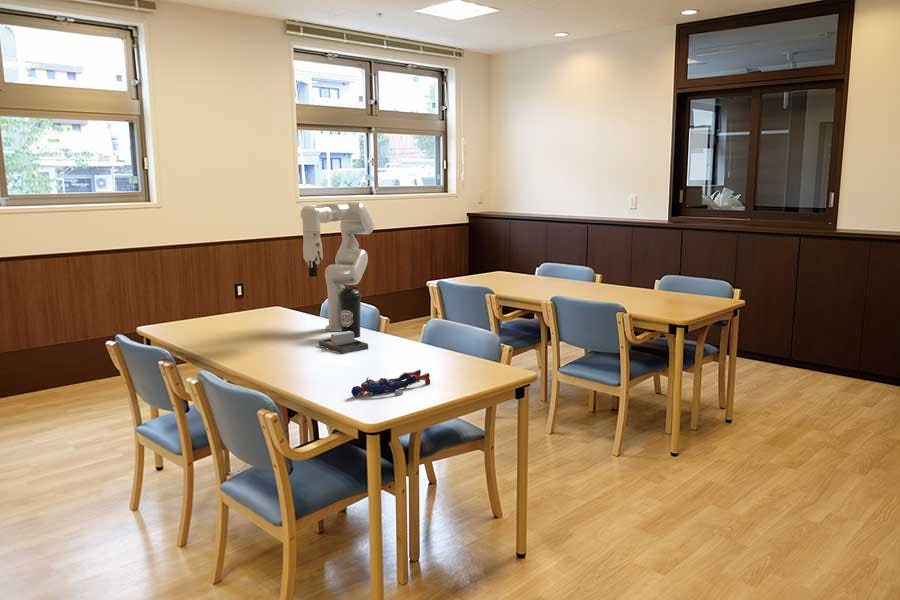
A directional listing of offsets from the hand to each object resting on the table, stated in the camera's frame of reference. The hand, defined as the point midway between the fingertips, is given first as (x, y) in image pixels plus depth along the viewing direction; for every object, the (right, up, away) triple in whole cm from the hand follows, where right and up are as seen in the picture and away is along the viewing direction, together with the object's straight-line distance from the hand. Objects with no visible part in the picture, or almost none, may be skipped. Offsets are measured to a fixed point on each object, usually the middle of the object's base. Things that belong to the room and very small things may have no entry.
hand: (313, 276), depth 310 cm
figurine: (+40, -42, -70) cm, 91 cm away
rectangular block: (+15, -30, -10) cm, 35 cm away
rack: (+15, -31, -10) cm, 36 cm away
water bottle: (+15, -28, +12) cm, 34 cm away
